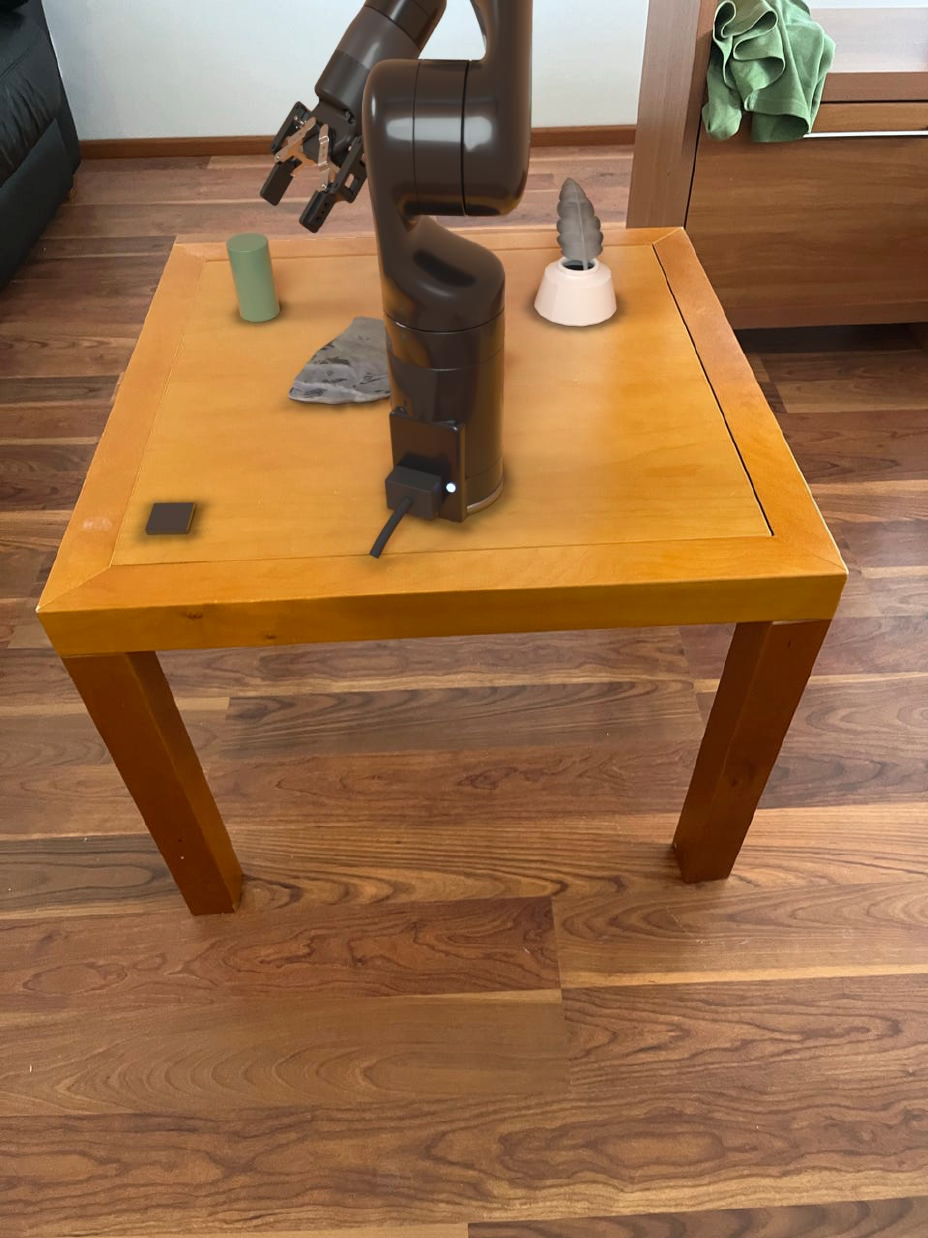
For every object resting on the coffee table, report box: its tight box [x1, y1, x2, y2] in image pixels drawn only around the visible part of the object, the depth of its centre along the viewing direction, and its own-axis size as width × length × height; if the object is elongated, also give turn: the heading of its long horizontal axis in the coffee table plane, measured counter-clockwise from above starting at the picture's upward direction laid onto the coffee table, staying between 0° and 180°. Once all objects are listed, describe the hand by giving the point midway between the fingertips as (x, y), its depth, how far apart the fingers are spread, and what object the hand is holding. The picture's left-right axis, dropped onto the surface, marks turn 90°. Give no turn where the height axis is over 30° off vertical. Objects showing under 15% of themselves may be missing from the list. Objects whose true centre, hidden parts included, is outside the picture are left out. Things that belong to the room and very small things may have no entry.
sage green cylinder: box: [225, 232, 281, 323], centre depth 101 cm, size 4×4×8 cm
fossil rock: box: [287, 316, 390, 405], centre depth 94 cm, size 18×15×2 cm
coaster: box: [144, 501, 196, 535], centre depth 79 cm, size 4×4×1 cm
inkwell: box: [533, 177, 618, 327], centre depth 103 cm, size 9×18×10 cm, turn 5°
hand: (286, 214), depth 99 cm, fingers open, 8 cm apart
